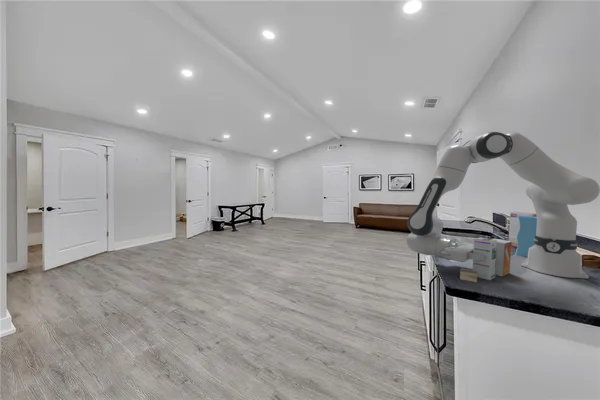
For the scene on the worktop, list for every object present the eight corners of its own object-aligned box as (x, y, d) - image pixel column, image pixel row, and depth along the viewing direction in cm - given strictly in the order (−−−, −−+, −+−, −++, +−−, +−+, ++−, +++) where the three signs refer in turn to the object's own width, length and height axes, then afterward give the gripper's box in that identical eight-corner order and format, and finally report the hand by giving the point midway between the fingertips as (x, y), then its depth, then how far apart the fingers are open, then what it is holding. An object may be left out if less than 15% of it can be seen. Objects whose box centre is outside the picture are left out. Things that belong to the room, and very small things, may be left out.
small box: (502, 277, 90) (505, 243, 89) (482, 272, 95) (484, 240, 94) (510, 273, 94) (512, 241, 94) (490, 268, 100) (492, 238, 99)
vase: (516, 252, 128) (518, 215, 127) (536, 255, 122) (539, 217, 121) (515, 255, 122) (518, 216, 121) (537, 258, 117) (540, 218, 116)
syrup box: (490, 280, 86) (492, 241, 85) (471, 275, 91) (473, 238, 90) (495, 277, 89) (497, 239, 89) (476, 272, 94) (479, 236, 93)
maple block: (460, 275, 91) (460, 268, 91) (476, 278, 88) (476, 270, 88) (459, 279, 87) (460, 271, 87) (476, 282, 84) (477, 274, 84)
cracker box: (540, 251, 130) (543, 214, 129) (529, 251, 130) (532, 213, 129) (517, 245, 144) (520, 211, 143) (507, 245, 144) (510, 211, 143)
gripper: (437, 244, 93) (480, 252, 82) (455, 238, 106) (494, 244, 95) (436, 260, 93) (479, 270, 82) (454, 252, 106) (493, 260, 95)
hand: (487, 256), depth 89 cm, fingers closed on syrup box, 6 cm apart
